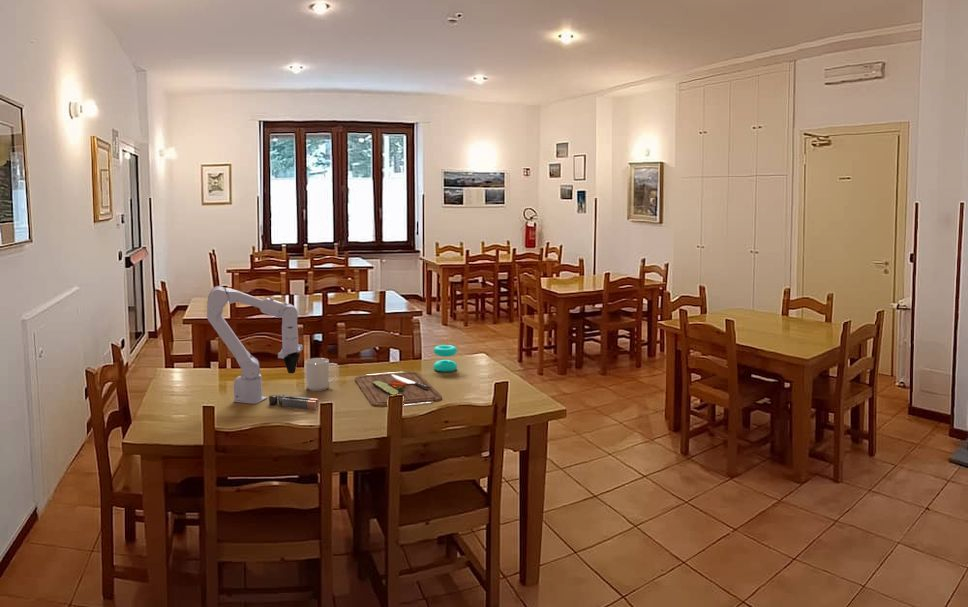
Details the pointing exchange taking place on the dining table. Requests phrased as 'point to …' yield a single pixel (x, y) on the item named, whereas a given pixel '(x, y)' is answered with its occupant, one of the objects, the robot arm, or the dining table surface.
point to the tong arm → (296, 398)
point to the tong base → (293, 403)
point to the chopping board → (397, 388)
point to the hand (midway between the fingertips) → (291, 372)
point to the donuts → (445, 351)
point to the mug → (318, 374)
